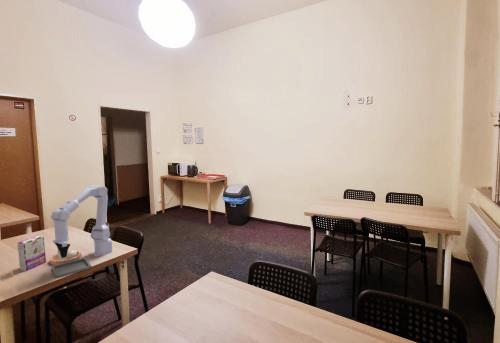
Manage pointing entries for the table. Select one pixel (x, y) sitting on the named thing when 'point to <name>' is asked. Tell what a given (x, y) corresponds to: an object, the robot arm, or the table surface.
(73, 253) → the white rounded piece
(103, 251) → the robot arm
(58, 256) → the white rounded piece
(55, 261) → the bowl
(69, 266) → the parts tray
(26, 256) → the candy bar box
